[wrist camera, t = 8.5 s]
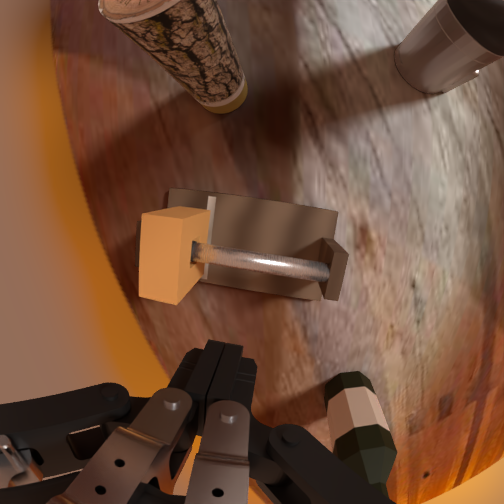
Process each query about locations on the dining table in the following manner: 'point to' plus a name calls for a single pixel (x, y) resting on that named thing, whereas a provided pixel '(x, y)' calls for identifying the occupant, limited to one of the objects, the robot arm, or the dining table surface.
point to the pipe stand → (265, 245)
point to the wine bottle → (359, 428)
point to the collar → (170, 252)
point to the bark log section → (185, 46)
